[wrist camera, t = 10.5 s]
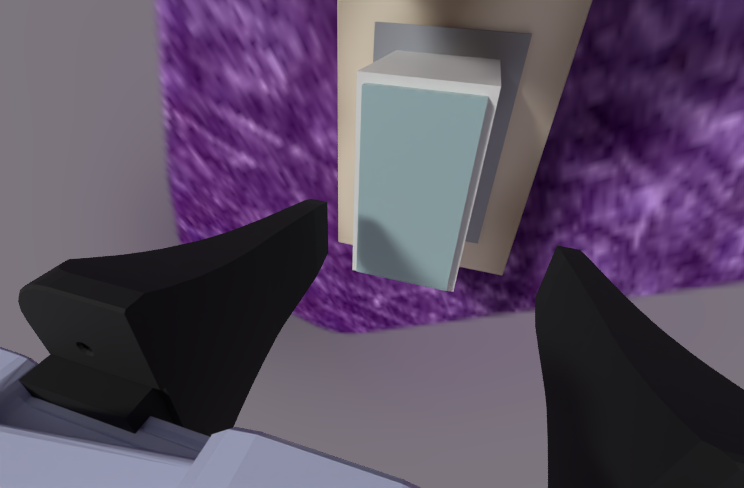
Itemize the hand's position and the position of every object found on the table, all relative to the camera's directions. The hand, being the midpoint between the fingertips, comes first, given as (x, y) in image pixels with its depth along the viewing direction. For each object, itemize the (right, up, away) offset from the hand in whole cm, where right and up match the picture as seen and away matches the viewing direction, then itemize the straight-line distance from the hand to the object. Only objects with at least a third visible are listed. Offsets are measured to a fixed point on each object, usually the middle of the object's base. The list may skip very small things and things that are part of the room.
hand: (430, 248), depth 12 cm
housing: (+1, +5, +6) cm, 8 cm away
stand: (+2, +6, +8) cm, 10 cm away
